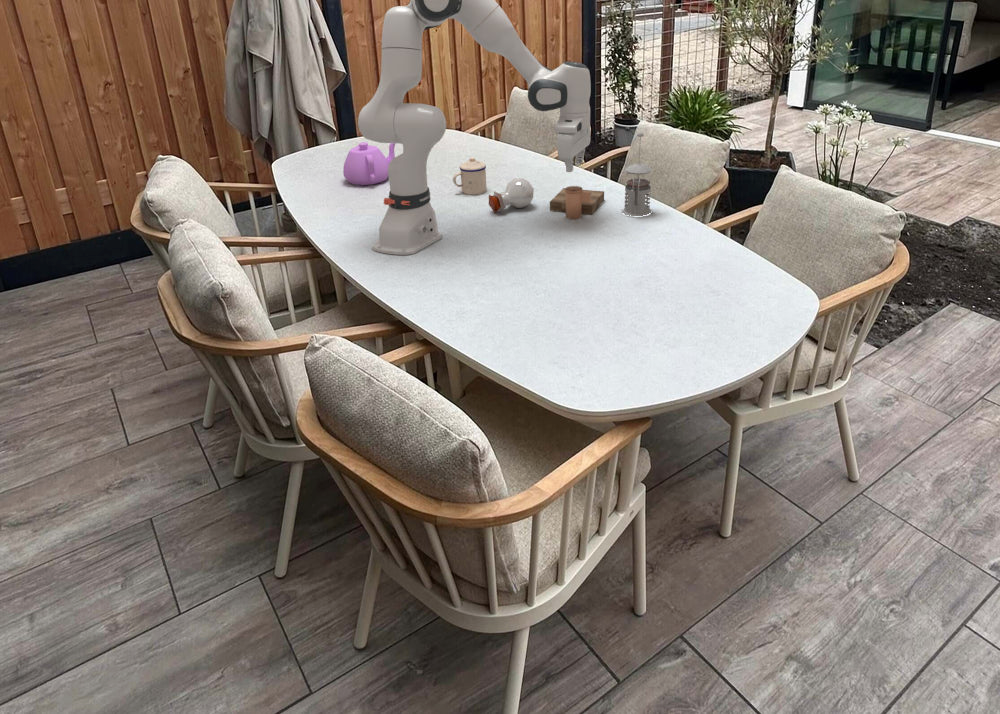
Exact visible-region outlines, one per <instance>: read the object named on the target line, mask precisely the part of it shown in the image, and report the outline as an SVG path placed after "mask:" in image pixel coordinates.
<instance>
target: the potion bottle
mask: <svg viewBox="0 0 1000 714" xmlns="http://www.w3.org/2000/svg"><path fill="white" fill-rule="evenodd" d="M532 185H533V184H531V183H530V181H528V180H527V179H525V178H514V179H512V180H511V181H510V182H508V183H507V185H506V188H505V191H503V192H500V193H499V192H498V191H497V192H496V191H495V190H494V191H493V195H491V194H488V205H489V207H490V208H491V210H492V212H493V214H496V213H497V212H498V211H499V212H500V213H501V212H502V211H503V210H504V209H506V207H507V206H512V207H513V208H516V209H524V208H526V207H527V206H529V205H531V203H532V202H533V199H534V192H535V188H534V187H533V186H532Z"/></svg>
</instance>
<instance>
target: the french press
mask: <svg viewBox="0 0 1000 714" xmlns="http://www.w3.org/2000/svg"><path fill="white" fill-rule="evenodd" d="M636 137H638V138H639V143H641V141H642V140H641V139H642V138H643V137H644V132H642V131H639V132H638V133H637V136H636ZM638 149H639V151H638V154H639V155H638V163H634V164H630V165H628V166H627V167H626V168H625V172H626V174H627V173H628V174H630V175H637V178H636V177H633V178H631V179H629V180H627V181H626V185H625V186H624V187H625V190H624V191H625V192H624V195H625V196H624V207H623V209H622V210H621V211H622V213H624V214H625V215H629V216H630V215H631V216H643V215H647V214H649V213H651V210H652V209H651V208H650V207H651V206H650V204H651V201H650V200H651V197H650V196H651V193H650V192H652V191H651V190H652V188H651V186H650V183H651V182H650V180H648V179H644V178H640V175H641V176H642V175H647V174H649V173H651V172H652V171H653V169H652V167H650V166H649V165H648V164H645V163H641V162H640V158H641V146H639V148H638ZM622 213H621V214H622Z"/></svg>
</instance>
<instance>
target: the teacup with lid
mask: <svg viewBox="0 0 1000 714" xmlns="http://www.w3.org/2000/svg"><path fill="white" fill-rule="evenodd" d="M486 165H487V164H486V163H484V162H483V161H479V160H476V157H474V156H473V157H469V159H468V160H467V161H466V162H463V163H461V164H460V165H459V172H457V173H455V174H454V175H453V177H452V182H453V184H454V186H456V187H457V188H461V192H462V193H463V194H465V195H470V196H473V195H474V196H475V195H481V194H484V193H486V192H487V172H486V170H487V169H486V168H487V166H486ZM458 176H460V182H461V184H458V183H457V181H456V180H457V177H458Z"/></svg>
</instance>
